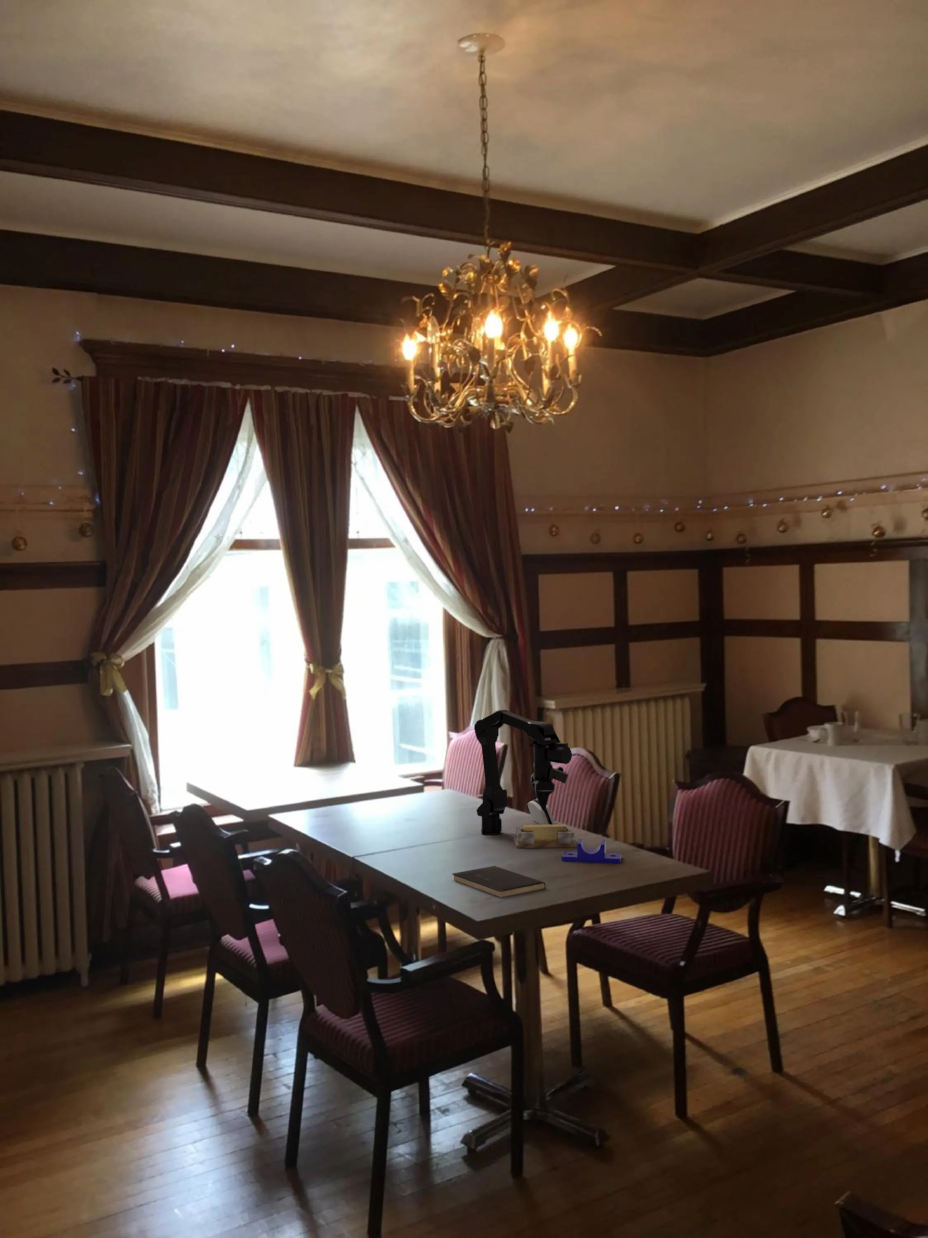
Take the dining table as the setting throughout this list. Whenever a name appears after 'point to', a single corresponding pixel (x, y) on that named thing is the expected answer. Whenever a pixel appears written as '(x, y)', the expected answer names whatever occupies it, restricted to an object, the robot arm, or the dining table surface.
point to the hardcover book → (498, 881)
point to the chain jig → (528, 842)
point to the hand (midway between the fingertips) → (542, 807)
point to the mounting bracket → (591, 854)
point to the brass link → (545, 832)
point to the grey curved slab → (541, 813)
